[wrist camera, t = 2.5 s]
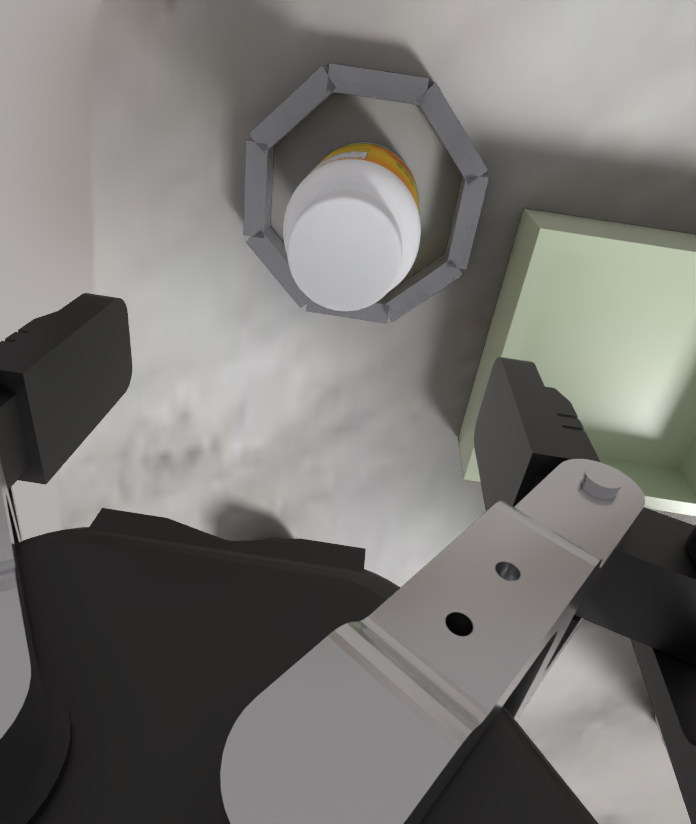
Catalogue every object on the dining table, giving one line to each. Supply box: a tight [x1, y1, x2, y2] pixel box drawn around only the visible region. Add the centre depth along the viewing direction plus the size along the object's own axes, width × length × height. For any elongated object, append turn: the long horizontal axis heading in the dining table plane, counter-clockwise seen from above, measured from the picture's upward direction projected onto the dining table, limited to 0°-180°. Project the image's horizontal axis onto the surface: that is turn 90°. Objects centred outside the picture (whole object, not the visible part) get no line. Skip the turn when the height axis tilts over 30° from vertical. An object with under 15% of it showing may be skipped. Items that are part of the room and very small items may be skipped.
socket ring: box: [243, 63, 489, 323], centre depth 27 cm, size 11×11×2 cm
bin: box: [458, 208, 696, 516], centre depth 29 cm, size 14×14×4 cm
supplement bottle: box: [283, 142, 421, 311], centre depth 23 cm, size 5×5×10 cm
